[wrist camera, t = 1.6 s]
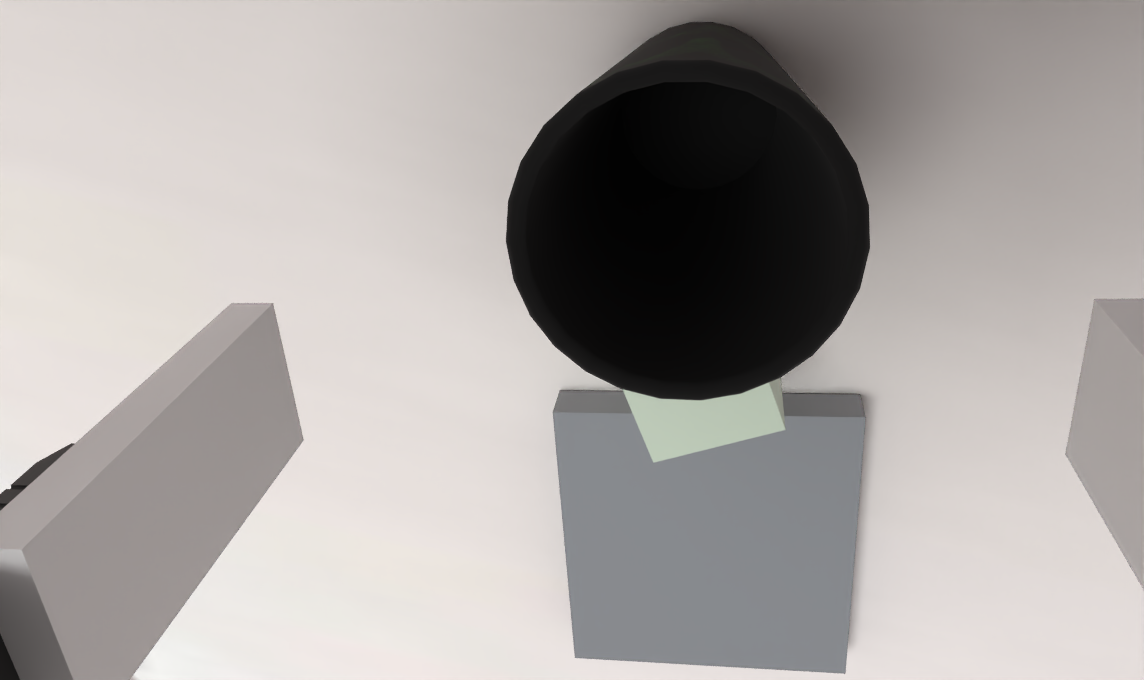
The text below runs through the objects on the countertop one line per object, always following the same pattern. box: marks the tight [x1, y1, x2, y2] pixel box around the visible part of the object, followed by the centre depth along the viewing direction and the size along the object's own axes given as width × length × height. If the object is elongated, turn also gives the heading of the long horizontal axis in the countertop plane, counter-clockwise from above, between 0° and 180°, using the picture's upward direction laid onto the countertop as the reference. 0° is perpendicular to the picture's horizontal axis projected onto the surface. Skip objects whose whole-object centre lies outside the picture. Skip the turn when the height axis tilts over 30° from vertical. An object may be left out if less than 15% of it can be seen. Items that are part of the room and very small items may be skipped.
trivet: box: [553, 391, 866, 674], centre depth 37 cm, size 12×11×2 cm
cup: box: [506, 22, 870, 401], centre depth 26 cm, size 8×8×12 cm
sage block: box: [623, 377, 786, 463], centre depth 32 cm, size 4×4×5 cm
